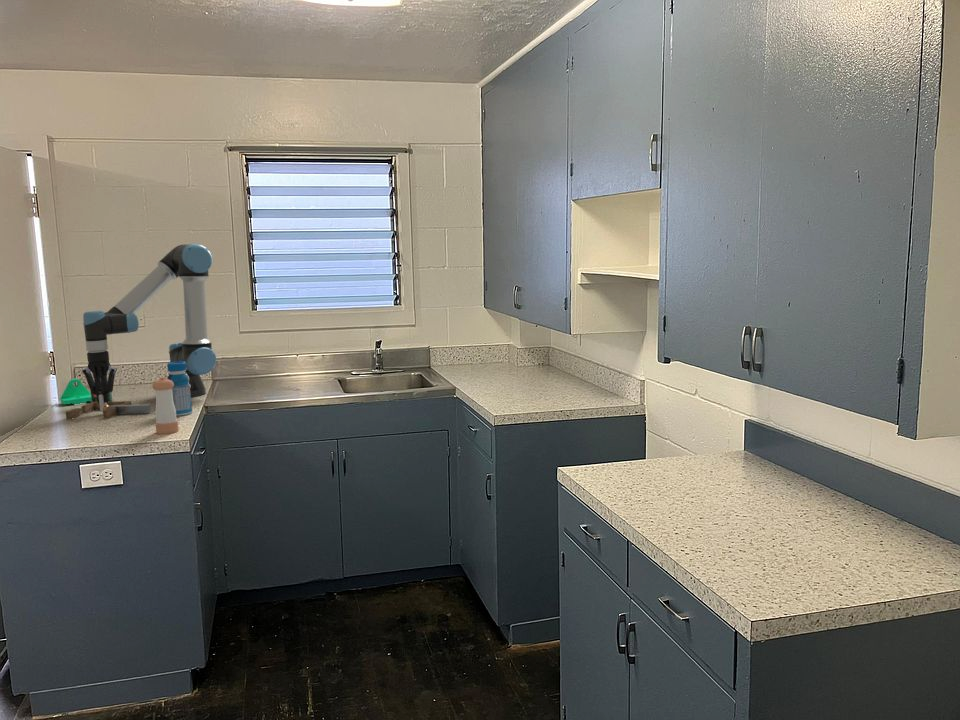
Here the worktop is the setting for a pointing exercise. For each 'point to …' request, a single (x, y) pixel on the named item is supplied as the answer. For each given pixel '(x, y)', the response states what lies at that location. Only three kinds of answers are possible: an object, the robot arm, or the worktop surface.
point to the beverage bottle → (180, 387)
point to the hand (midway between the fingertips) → (104, 410)
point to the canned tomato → (94, 396)
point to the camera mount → (75, 393)
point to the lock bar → (129, 408)
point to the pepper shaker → (165, 407)
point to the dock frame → (94, 406)
